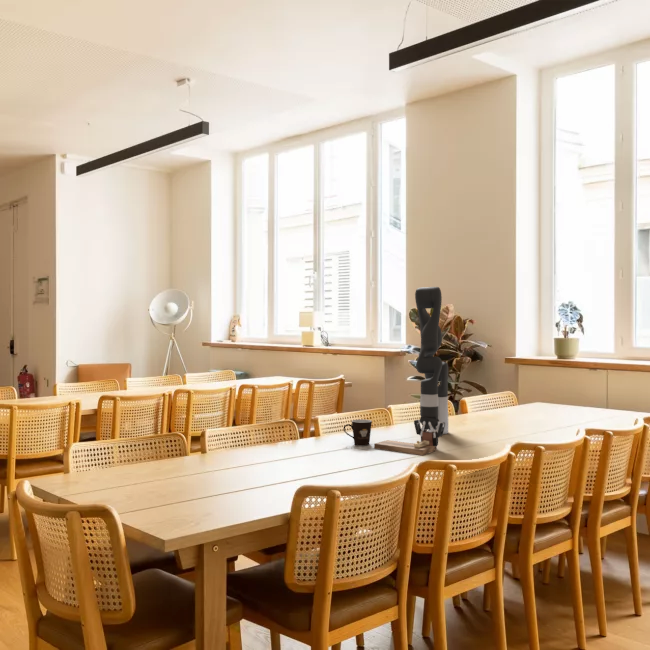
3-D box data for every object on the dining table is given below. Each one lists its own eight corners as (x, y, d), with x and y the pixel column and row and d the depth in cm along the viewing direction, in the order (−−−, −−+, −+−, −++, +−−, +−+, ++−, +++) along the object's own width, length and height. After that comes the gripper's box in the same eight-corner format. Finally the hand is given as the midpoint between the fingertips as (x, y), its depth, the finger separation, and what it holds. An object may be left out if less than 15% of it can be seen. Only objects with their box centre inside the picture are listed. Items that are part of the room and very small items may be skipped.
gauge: (427, 447, 298) (427, 431, 298) (436, 448, 296) (436, 432, 295) (411, 452, 288) (411, 435, 288) (420, 453, 286) (420, 436, 286)
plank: (387, 444, 305) (387, 440, 305) (434, 451, 291) (434, 446, 291) (374, 448, 297) (374, 443, 297) (422, 455, 283) (422, 449, 283)
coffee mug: (373, 442, 310) (373, 419, 310) (369, 446, 302) (369, 422, 301) (347, 441, 313) (347, 418, 313) (343, 445, 305) (342, 421, 304)
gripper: (449, 405, 293) (449, 446, 294) (419, 402, 302) (419, 442, 303) (440, 407, 288) (440, 449, 288) (409, 404, 296) (409, 445, 297)
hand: (429, 445), depth 295 cm, fingers open, 4 cm apart
